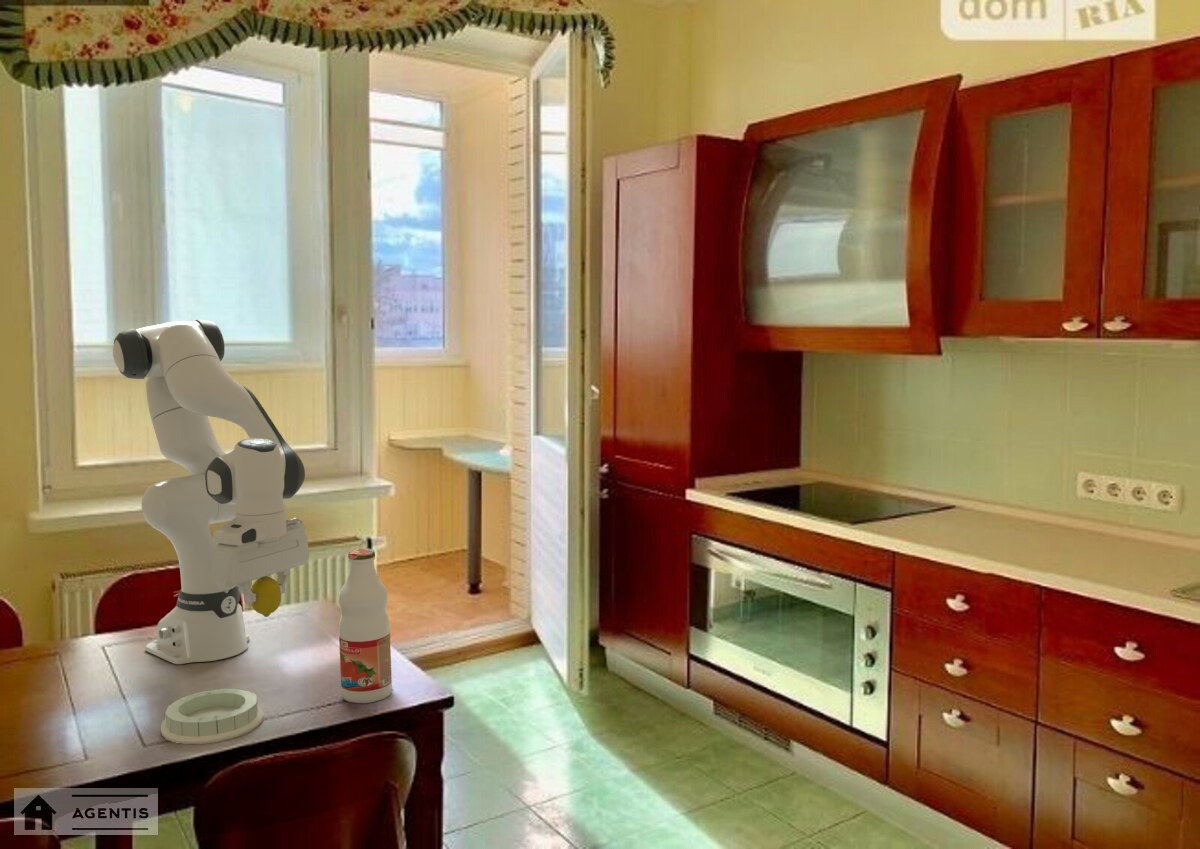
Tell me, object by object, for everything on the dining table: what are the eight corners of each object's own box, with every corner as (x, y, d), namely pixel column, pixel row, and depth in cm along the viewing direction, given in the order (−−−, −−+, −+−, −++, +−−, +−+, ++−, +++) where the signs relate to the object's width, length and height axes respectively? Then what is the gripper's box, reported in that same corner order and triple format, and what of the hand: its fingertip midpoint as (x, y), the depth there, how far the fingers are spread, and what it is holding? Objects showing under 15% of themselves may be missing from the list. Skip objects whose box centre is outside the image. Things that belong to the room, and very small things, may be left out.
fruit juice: (401, 694, 185) (396, 551, 182) (357, 708, 179) (351, 560, 175) (376, 681, 192) (370, 543, 189) (332, 694, 185) (326, 551, 182)
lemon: (272, 622, 180) (270, 580, 179) (245, 620, 181) (243, 578, 180) (287, 613, 185) (285, 572, 184) (261, 611, 186) (259, 571, 185)
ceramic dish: (139, 732, 169) (138, 713, 169) (220, 698, 184) (219, 680, 184) (205, 752, 161) (204, 732, 161) (284, 715, 176) (283, 697, 175)
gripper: (291, 514, 191) (294, 583, 193) (205, 535, 174) (209, 610, 175) (315, 517, 188) (318, 586, 190) (229, 538, 171) (233, 615, 172)
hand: (265, 598), depth 182 cm, fingers closed on lemon, 6 cm apart
